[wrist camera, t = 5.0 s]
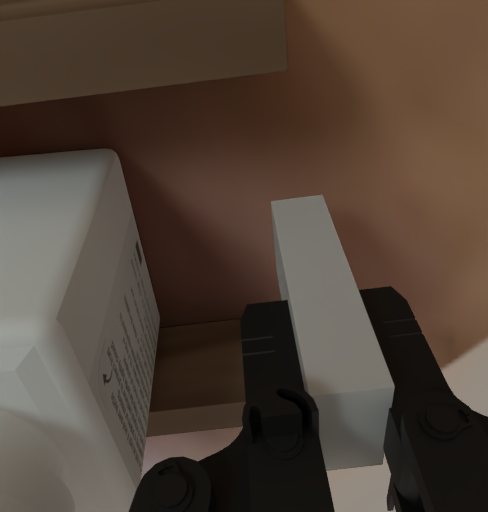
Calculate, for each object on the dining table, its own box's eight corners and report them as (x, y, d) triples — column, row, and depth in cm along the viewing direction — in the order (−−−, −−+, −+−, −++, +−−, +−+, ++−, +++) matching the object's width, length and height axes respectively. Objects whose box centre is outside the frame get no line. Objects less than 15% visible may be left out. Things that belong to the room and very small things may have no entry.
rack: (-321, 36, 12) (-516, 87, 9) (264, -40, 11) (283, -15, 8) (-49, 376, 20) (-96, 463, 17) (288, 337, 20) (302, 419, 17)
